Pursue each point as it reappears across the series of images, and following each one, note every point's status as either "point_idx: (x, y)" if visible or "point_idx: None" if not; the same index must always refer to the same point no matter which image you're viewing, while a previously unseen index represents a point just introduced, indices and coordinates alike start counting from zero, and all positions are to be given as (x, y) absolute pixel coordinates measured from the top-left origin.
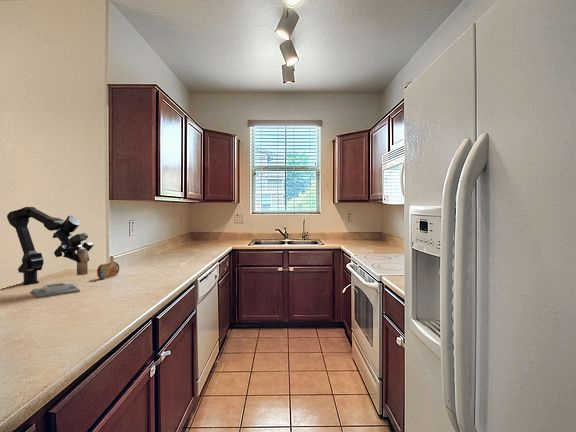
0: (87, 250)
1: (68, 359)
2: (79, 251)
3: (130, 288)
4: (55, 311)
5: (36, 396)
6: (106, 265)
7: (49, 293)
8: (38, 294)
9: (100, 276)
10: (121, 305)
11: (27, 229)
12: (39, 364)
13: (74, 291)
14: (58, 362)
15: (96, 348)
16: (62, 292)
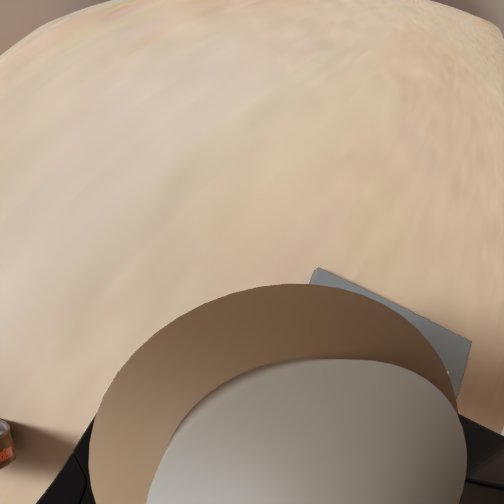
0: (154, 335)
1: (469, 20)
2: (446, 385)
3: (149, 88)
4: (470, 128)
5: (487, 21)
6: None
7: (435, 341)
8: (460, 369)
9: (10, 434)
10: (343, 18)
11: None
12: (489, 37)
13: (342, 281)
14: (476, 25)
15: (446, 6)
16: (396, 305)
